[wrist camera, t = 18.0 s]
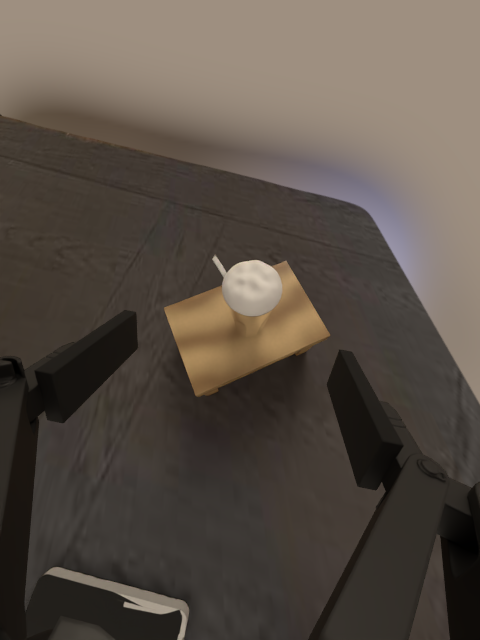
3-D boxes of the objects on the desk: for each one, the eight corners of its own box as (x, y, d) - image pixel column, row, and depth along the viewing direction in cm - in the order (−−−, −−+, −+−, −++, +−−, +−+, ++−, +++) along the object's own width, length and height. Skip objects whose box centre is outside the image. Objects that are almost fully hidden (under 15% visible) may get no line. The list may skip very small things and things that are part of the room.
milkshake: (231, 294, 27) (228, 232, 18) (276, 314, 26) (297, 260, 17) (212, 329, 26) (197, 282, 16) (258, 351, 25) (271, 315, 15)
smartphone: (40, 572, 24) (188, 612, 23) (50, 564, 25) (191, 601, 24) (-1, 683, 21) (164, 734, 20) (12, 668, 23) (168, 715, 22)
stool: (179, 330, 34) (163, 307, 26) (276, 291, 36) (286, 260, 29) (205, 399, 31) (195, 396, 23) (309, 352, 33) (330, 335, 26)
